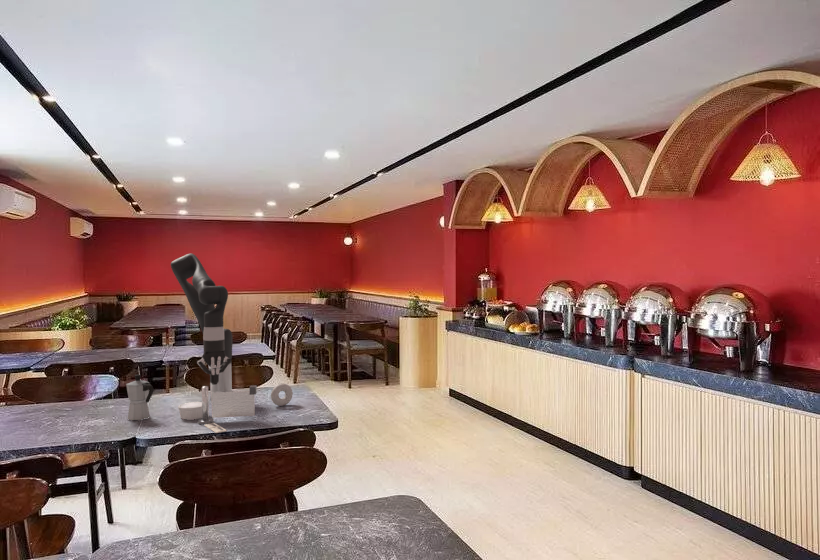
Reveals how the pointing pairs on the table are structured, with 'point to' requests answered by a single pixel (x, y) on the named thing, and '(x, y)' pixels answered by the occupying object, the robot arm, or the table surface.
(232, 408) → the white upright panel
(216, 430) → the label
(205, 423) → the pivot base
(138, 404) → the coffee maker
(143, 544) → the table surface
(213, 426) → the label
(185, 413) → the ramekin
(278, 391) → the donut
